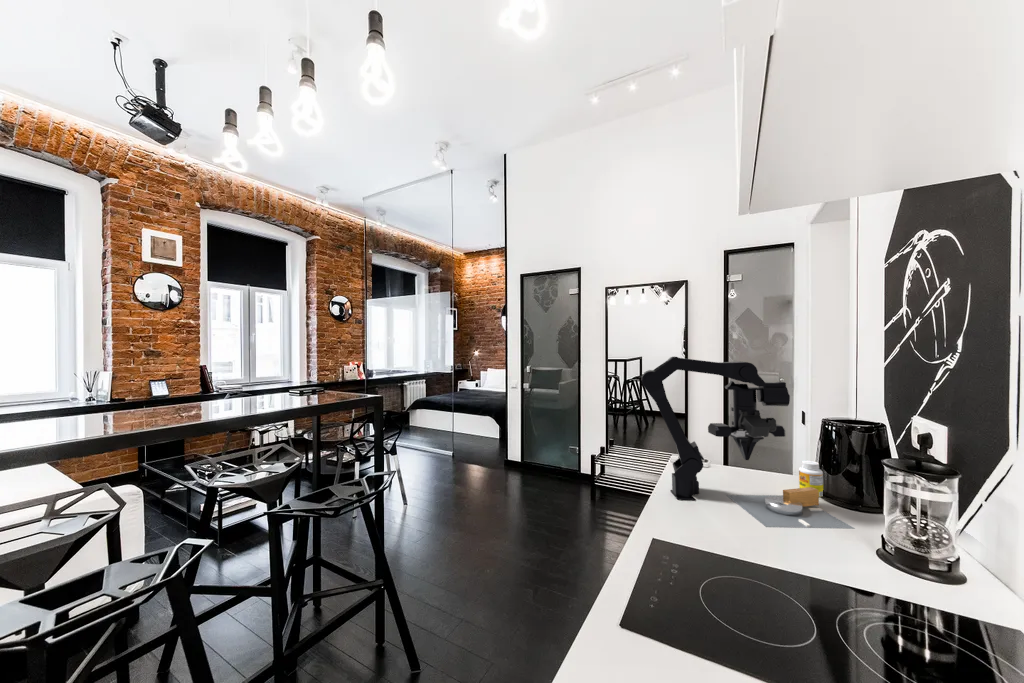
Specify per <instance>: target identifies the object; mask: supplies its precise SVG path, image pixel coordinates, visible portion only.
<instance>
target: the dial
mask: <svg viewBox="0 0 1024 683" xmlns="http://www.w3.org/2000/svg"><path fill="white" fill-rule="evenodd" d="M782 495H783V497H781V496H768V497H766V498H765V507H766V508H767V509H768V510H770V511H772V512H774V513H777V514H781V515H786V516H800V515H802V514H803V511H802V507H804V506H813V505H815V506H819V505H820V502H819V500H820V497H819V492H818V489H815V488H812V487H807V488H789V489H783V490H782Z"/></svg>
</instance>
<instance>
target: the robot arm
mask: <svg viewBox="0 0 1024 683" xmlns="http://www.w3.org/2000/svg"><path fill="white" fill-rule="evenodd" d="M676 371H684V372H685V371H686V372H694V373H700V374H707V375H709V374H710V375H716V376H721V377H725V378H728V379H731V380H730V382H729V383H728V384H726V385H724V388H725V389H726V390H730V391H732V402H733V403H732V405H733V406H731V408H730V409H731V410H730V411H731V412H733V421H731V425H727V424H725V423H721V422H720V423H719V422H717V423H715V422H714V423H713V422H712V423H709V424H708V426H707V430H708V431H707V432H708V434H711V435H713V436H715V437H719V438H722V437H723V438H729V437H730V438H731V437H732V440H734V442H735V443H736V445H737V447H738V449H739V452H740V453H741V456H742V458H743V459H744V460H745V461H749V460H750V458H751V456H752V453H753V451H754V448H755V446H756V445H757V443H758V442H759V441H762V440H764V439H765V438H768V437H769V435H770V434H771V435H772V436H773V437H786V429H785V428H784V426H783V425H780V424H778V423H777V419H776V418H774V417H766V418H765V417H761V413H760V410H759V409H757V408H758V407H757V405H758V404H757V402H758V403H761V405H762V406H764V407H789V406H790V402H791V401H790V400H791V396H790V394H789V390H788V387H787V382H784V381H776V382H767V381H766V382H765V381H764V379H763V378H762V377H761V376H760V375H759V370H758V368H757V367H756V365H755V364H754V363H752V362H748V361H724V362H721V361H720V362H719V361H718V362H717V361H708V360H701V359H700V360H699V359H693V358H692V359H691V358H682V357H678V356H670V357H669V358H668V359H667V360H666V361H664V362H663V363H662V364H660V365H659V366H657V367H656V368H654V369H649V370H646V371H644V372H643V374H642V375H641V384H642V386H643V387H644V389H645V390H646V391H647V393H648V394H649V395H650V397H651V398H652V400H653V401H654V402H655V405H656V406H657V408H658V410H659V412H660V414H661V416H662V418H663V421H664V423H665V424H666V426H667V428H668V431H669V433H670V436H671V437H672V439H673V441H674V443H675V446H676V447H675V448H676V450H677V451H676V452H677V453H678V458H677V459H676V460H675V461H674V462H673V463H672V467H673V471H674V472H672V473H671V489H669V490H670V493H671V494H672V495H673V496H674V498H675V499H677V500H688V501H689V500H692V501H693V500H696V498H695V497H694V496H695V495H700V481H698V477H697V474H699V473H700V472H701V471H702V470H703V468H704V462H703V460H705V458H704V456H703V455H702V453H701V452H700V449H699V446H698V444H697V443H696V441H695V440H694V441H692V442H690V441H689V439H688V438H687V436H686V433H685V432H684V431H683V430H684V429H683V427H682V426H681V424H680V422H679V420H678V418H677V416H676V414H675V411H674V410H673V408H672V406H671V403H670V402H669V400H668V397H667V394H666V393H667V392H666V390H665V386H664V381H665V380H666V379H667V378H668V377H670V376H671V375H673V373H675V372H676ZM732 380H735V381H739V382H741V383H736V382H734V381H732ZM747 383H749V384H751V385H753V386H752V387H751V386H749V385H748V384H747Z"/></svg>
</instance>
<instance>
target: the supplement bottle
mask: <svg viewBox="0 0 1024 683" xmlns="http://www.w3.org/2000/svg"><path fill="white" fill-rule="evenodd" d="M798 479H799V480H798V483H799V484H798V485H799V488H807V487H812V488H815V489H818V492H819V498H821V497H824V496H823V490H824V472H823V471H822V469H820V464H819V462H817V461H813V460H808V459H807V460H802V461H801V466H800V467H799V468H798Z"/></svg>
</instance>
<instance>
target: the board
mask: <svg viewBox="0 0 1024 683" xmlns="http://www.w3.org/2000/svg"><path fill="white" fill-rule="evenodd" d="M768 496H781V497H783V494H782V495H778V494H777V495H776V494H774V495H772V494H771V495H769V494H768V495H767V494H765V495H764V494H761V495H760V494H756V495H755V494H726V497H727V498H729V499H730V500H732V501H733V502H734V503H735V504H737V505H738V506H739V507H740V508H741V509H742V510H745V512H746V513H748V515H751V517H752V518H754V519H755V520H756V521H758V522H759V523H760V524H762V525H763V526H764V527H765V528H784V529H785V528H789V529H790V528H791V529H792V528H795V529H803V528H804V529H856V528H855V527H853V526H852V525H850V524H848V523H846V522H844V521H843V520H841V519H840V518H837V517H836V516H834V515H832V514H831V513H830V512H828V511H826V510H824V509H823V508H821V507H819V506H818V505H813V506H804V507H802V511H803V514H802V515H800V516H786V515H781V514H777V513H774V512H772V511H770V510H768V509H767V508H766V507H765V498H766V497H768Z"/></svg>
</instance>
